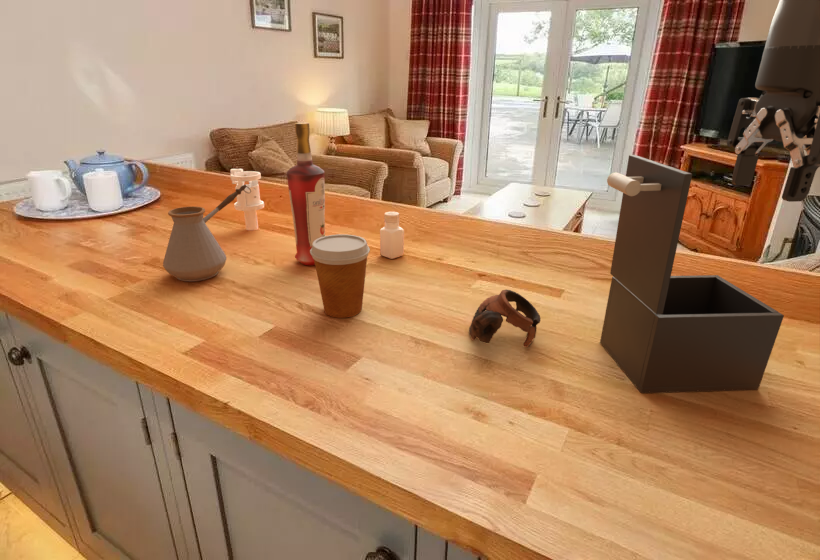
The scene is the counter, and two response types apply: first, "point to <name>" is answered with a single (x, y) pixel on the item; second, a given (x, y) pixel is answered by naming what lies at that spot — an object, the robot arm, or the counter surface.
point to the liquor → (306, 197)
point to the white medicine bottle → (391, 236)
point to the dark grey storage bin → (691, 336)
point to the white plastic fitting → (248, 196)
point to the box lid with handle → (648, 227)
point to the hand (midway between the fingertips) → (764, 192)
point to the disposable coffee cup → (341, 272)
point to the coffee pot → (194, 243)
